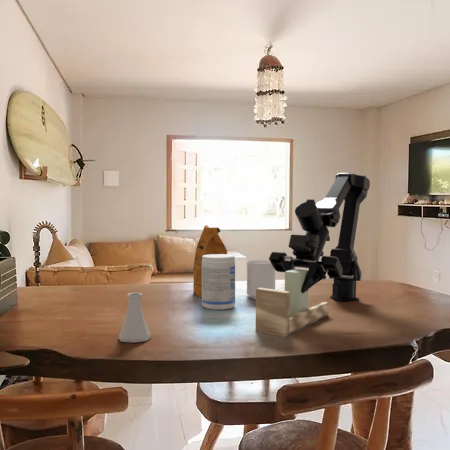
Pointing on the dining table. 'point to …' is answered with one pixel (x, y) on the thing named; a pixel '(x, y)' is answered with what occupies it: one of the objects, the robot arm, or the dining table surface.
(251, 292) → the mug
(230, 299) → the supplement tub
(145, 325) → the flask
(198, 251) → the coffee package
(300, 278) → the pale green block
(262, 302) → the track
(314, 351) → the dining table surface
